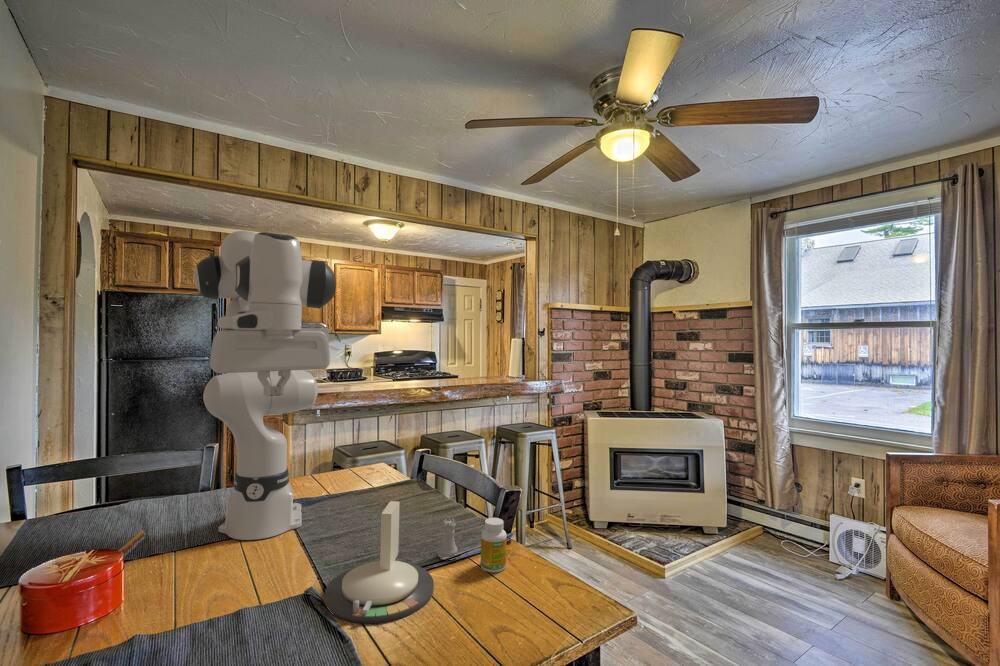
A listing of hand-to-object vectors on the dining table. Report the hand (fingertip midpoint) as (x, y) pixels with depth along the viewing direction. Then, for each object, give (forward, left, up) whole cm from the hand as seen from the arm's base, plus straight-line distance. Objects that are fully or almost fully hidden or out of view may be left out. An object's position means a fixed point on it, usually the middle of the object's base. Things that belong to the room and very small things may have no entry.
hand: (273, 395), depth 86 cm
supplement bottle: (-5, +43, -37) cm, 57 cm away
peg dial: (+1, +20, -36) cm, 41 cm away
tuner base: (+1, +20, -37) cm, 42 cm away
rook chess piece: (-11, +34, -37) cm, 52 cm away
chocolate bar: (-26, -35, -38) cm, 58 cm away
